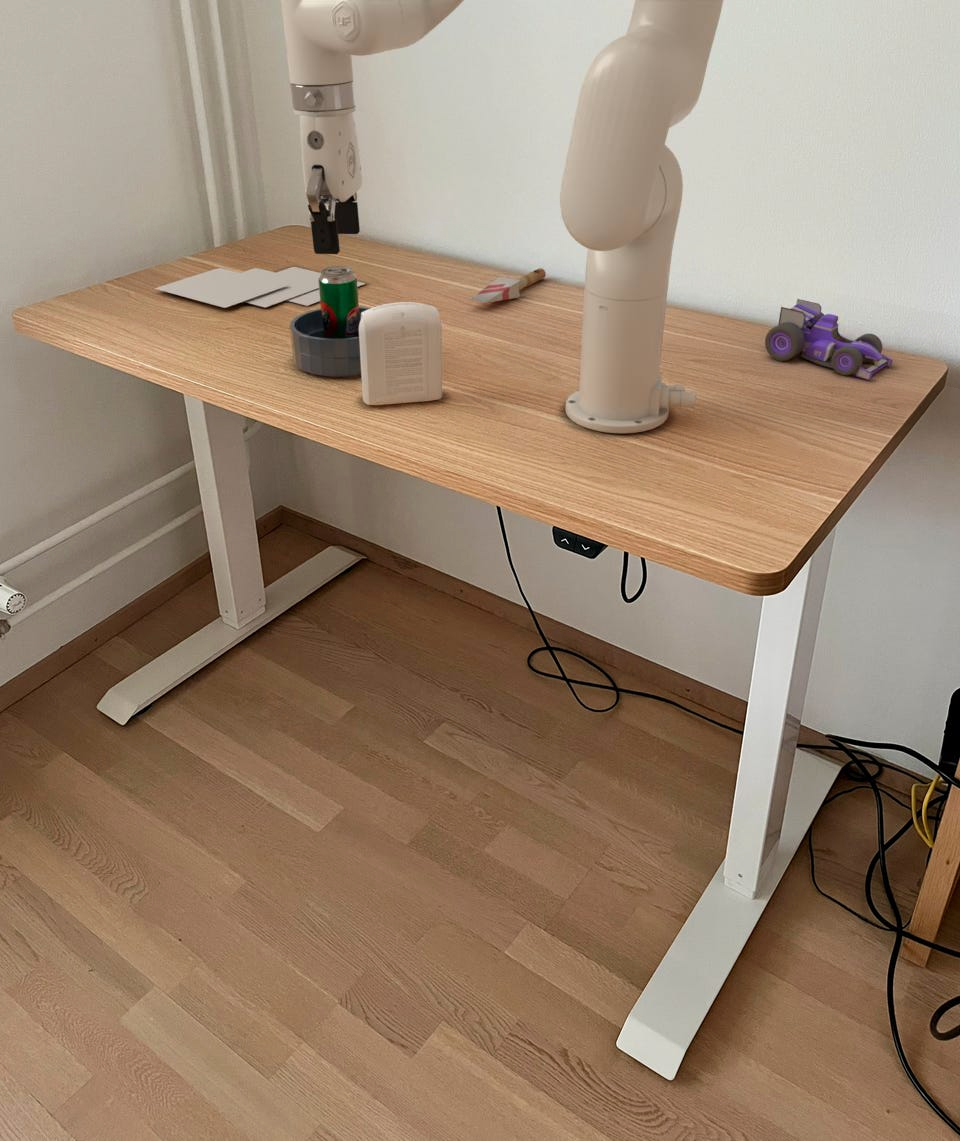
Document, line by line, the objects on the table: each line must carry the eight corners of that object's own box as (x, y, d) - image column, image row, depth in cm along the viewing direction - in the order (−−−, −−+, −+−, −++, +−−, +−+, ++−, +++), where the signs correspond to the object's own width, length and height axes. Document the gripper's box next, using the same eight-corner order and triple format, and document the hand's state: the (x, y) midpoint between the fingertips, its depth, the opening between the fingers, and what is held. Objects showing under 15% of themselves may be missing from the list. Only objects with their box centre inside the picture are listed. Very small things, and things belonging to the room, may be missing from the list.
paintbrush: (466, 289, 157) (532, 263, 171) (466, 307, 158) (531, 280, 173) (487, 293, 155) (552, 267, 170) (487, 311, 157) (551, 283, 171)
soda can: (355, 365, 138) (349, 277, 131) (320, 362, 139) (312, 275, 132) (366, 352, 142) (361, 266, 136) (332, 349, 143) (324, 264, 136)
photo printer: (439, 388, 132) (437, 294, 126) (446, 401, 129) (443, 305, 122) (360, 396, 130) (354, 301, 124) (365, 409, 127) (358, 312, 120)
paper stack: (259, 258, 182) (259, 254, 181) (365, 283, 169) (365, 279, 169) (154, 292, 166) (154, 288, 166) (263, 322, 154) (262, 318, 153)
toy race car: (864, 384, 133) (875, 336, 129) (761, 356, 142) (769, 310, 138) (895, 364, 139) (906, 317, 135) (795, 338, 147) (802, 293, 144)
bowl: (402, 346, 146) (401, 308, 143) (380, 382, 134) (377, 342, 131) (311, 341, 147) (307, 303, 144) (281, 376, 136) (276, 337, 133)
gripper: (333, 109, 115) (348, 262, 124) (371, 88, 129) (381, 226, 138) (270, 110, 116) (289, 261, 125) (314, 89, 130) (328, 226, 140)
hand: (337, 243), depth 132 cm, fingers open, 9 cm apart
